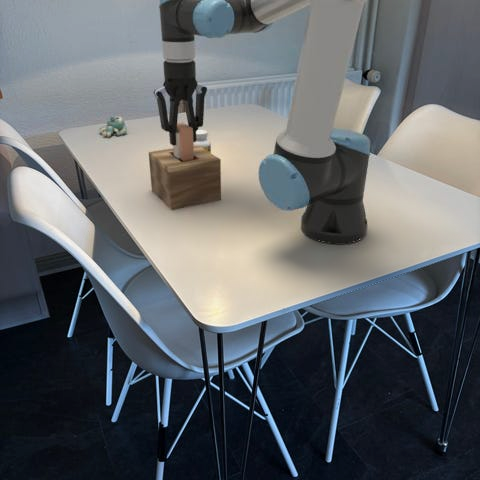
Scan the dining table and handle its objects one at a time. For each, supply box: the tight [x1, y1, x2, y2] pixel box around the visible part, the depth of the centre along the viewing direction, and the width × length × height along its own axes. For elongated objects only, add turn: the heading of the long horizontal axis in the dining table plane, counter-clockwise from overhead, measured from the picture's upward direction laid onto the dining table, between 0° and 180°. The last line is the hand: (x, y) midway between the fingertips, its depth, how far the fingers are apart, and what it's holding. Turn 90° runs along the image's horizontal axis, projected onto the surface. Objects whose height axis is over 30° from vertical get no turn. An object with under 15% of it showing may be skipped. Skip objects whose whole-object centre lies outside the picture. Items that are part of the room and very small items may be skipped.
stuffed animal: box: [98, 115, 128, 137], centre depth 182 cm, size 11×7×12 cm
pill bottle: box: [193, 129, 212, 154], centre depth 148 cm, size 6×6×12 cm
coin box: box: [148, 145, 222, 211], centre depth 130 cm, size 14×14×11 cm
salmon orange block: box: [173, 122, 194, 161], centre depth 126 cm, size 6×3×8 cm, turn 30°
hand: (183, 155), depth 128 cm, fingers closed on salmon orange block, 3 cm apart
